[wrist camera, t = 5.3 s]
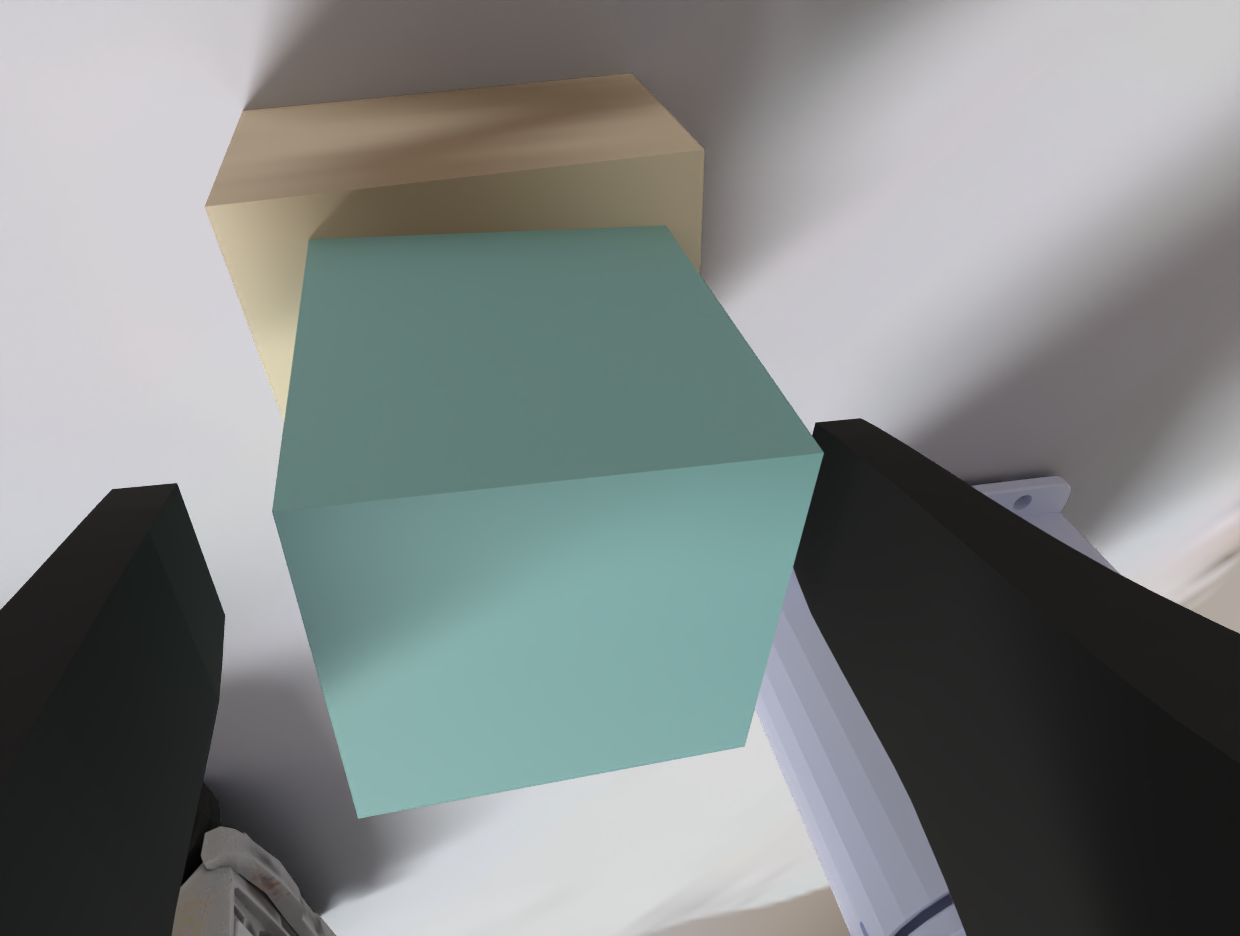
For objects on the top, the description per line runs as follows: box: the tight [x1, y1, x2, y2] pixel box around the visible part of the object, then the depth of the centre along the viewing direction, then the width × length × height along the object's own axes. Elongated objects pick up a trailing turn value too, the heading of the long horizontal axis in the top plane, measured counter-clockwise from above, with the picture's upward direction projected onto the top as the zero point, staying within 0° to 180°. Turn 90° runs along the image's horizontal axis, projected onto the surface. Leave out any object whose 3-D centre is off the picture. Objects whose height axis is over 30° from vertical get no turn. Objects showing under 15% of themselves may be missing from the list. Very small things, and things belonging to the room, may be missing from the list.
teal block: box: [272, 225, 824, 819], centre depth 10 cm, size 4×4×5 cm
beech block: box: [205, 73, 705, 421], centre depth 13 cm, size 6×6×4 cm
